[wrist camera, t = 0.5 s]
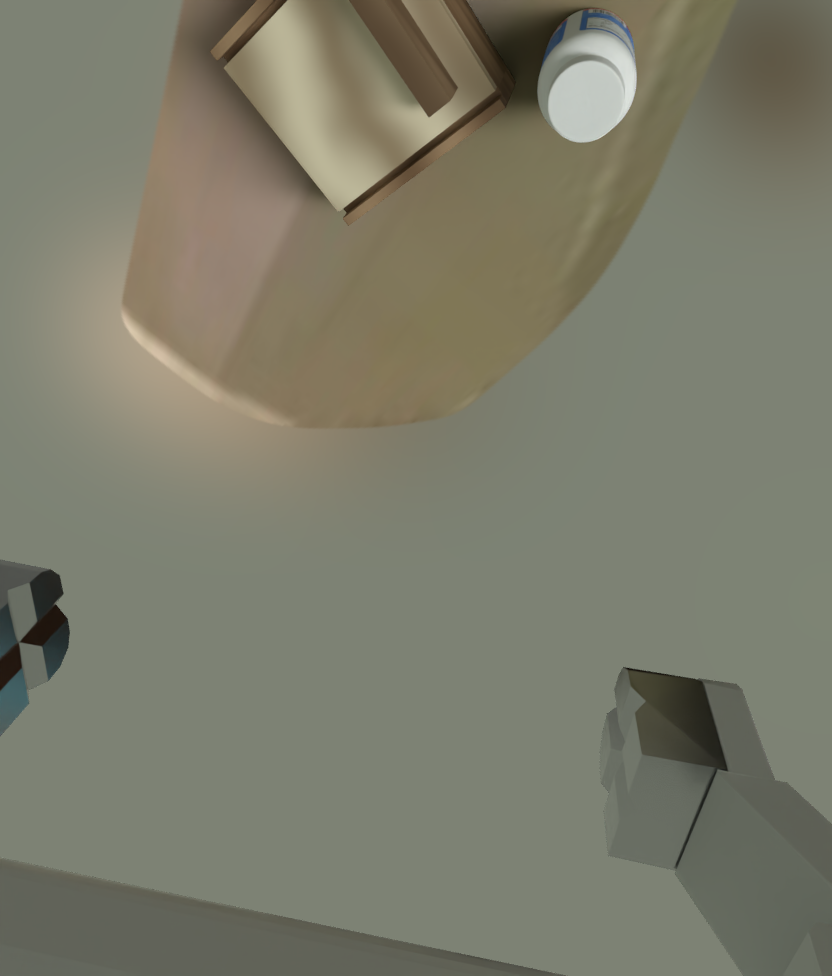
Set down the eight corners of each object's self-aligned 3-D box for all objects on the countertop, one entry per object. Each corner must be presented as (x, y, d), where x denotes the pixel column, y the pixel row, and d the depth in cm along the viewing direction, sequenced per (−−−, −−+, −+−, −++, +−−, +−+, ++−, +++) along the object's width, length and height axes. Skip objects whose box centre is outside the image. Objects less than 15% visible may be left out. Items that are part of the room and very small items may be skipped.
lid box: (389, -126, 41) (364, -118, 37) (515, 82, 47) (505, 108, 43) (243, 31, 48) (209, 51, 44) (368, 194, 54) (348, 225, 50)
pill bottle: (563, 119, 48) (552, 174, 41) (532, 34, 45) (514, 77, 38) (647, 79, 45) (650, 130, 39) (619, -14, 43) (617, 24, 36)
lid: (382, -98, 38) (366, -91, 36) (497, 87, 43) (489, 103, 41) (228, 64, 46) (206, 79, 43) (341, 207, 50) (327, 227, 48)
